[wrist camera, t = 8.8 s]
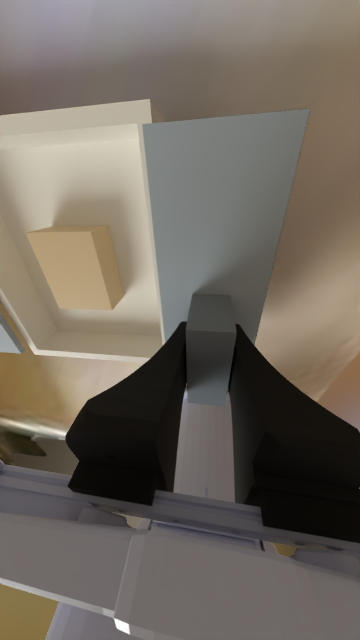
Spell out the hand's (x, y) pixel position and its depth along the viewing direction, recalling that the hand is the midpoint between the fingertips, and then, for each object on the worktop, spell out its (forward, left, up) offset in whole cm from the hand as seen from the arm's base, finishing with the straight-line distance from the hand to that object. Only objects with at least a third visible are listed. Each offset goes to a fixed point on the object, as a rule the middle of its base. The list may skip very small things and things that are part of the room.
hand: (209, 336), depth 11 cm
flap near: (+3, 0, -1) cm, 3 cm away
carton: (+3, +9, -4) cm, 10 cm away
